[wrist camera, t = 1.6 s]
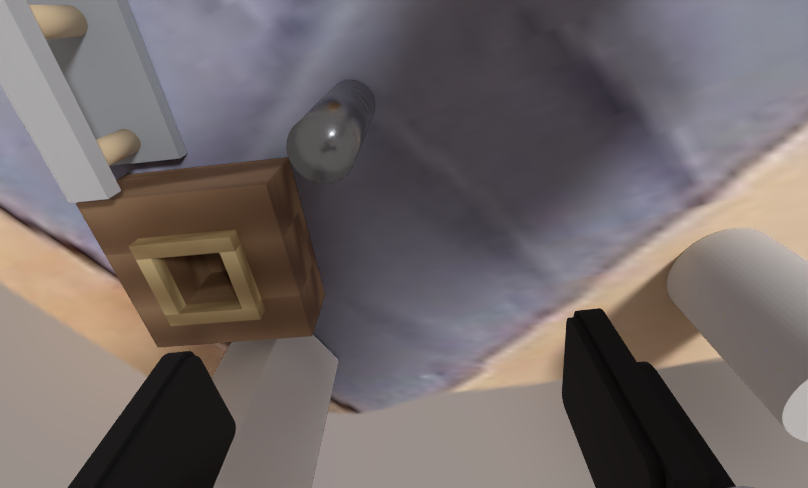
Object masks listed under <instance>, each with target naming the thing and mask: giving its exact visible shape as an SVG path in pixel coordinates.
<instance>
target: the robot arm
mask: <svg viewBox="0 0 808 488" xmlns="http://www.w3.org/2000/svg"><path fill="white" fill-rule="evenodd" d="M562 399H563V404H564V407H565V410H566V413H567V415H568V418H569V420H570V423H571V425H572V428H573V430H574V433H575V436H576V438H577V441H578V443H579V446H580V448H581V451H582V454H583V456H584V459H585V461H586V464H587V466H588V469H589V471H590V474H591V477H592V479H593V482H594V484H595V487H596V488H753V487H745V486H737V487H736V486H735V484H734V483H733V481H732V480H731V478H730V477H729V475H728V474H727V472H726V471H725V470H724V468H723V467H722V465H721V464H720V462H719V461H718V459H717V458H716V456H715V455H714V454H713V452H712V451H711V449H710V448H709V446H708V445H707V443H706V442H705V440H704V439H703V438H702V436H701V435H700V433H699V432H698V430H697V429H696V427H695V426H694V425H693V423H692V422H691V420H690V419H689V417H688V416H687V414H686V413H685V411H684V410H683V409H682V407H681V406H680V404H679V403H678V401H677V400H676V398H675V397H674V395H673V394H672V393H671V391H670V390H669V388H668V387H667V385H666V384H665V382H664V381H663V379H662V378H661V376H660V375H659V374H658V372H657V371H656V370H655V368H654V367H653V366H652V365H651V364H649V363H648V362H636V360H635V359H634V357H633V356H632V354H631V353H630V351H629V349H628V348H627V346H626V345H625V343H624V342H623V340H622V339H621V337H620V336H619V334H618V332H617V331H616V329H615V328H614V326H613V325H612V323H611V322H610V320H609V319H608V317H607V315H606V314H605V312H604V311H603V310H602V309H600V308H599V309H589V310H580V311H575V313H574V317H572V318H568V319H567V322H566V337H565V353H564V368H563V384H562ZM235 432H236V423H235V421H234V419H233V417H232V415H231V413H230V411H229V410H228V408H227V406H226V404H225V402H224V400H223V399H222V397H221V395H220V393H219V391H218V389H217V388H216V386H215V384H214V382H213V380H212V378H211V377H210V375H209V373H208V371H207V369H206V367H205V366H204V364H203V362H202V360H201V359H200V357H198V356H195V355H194V353H192V352H191V351H186V352H176V353H168V354H166V355H164V356H163V357H162V358H161V359H160V361H159V362H158V364H157V365H156V366H155V368H154V369H153V370H152V372H151V373H150V375H149V376H148V377H147V379H146V380H145V382H144V383H143V384H142V386H141V387H140V389H139V390H138V391H137V393H136V394H135V395H134V397H133V398H132V400H131V401H130V402H129V404H128V405H127V406H126V408H125V409H124V411H123V412H122V414H121V415H120V416H119V418H118V419H117V420H116V422H115V423H114V424H113V426H112V427H111V429H110V430H109V431H108V433H107V434H106V435H105V437H104V438H103V440H102V441H101V443H100V444H99V445H98V447H97V448H96V449H95V451H94V452H93V453H92V455H91V456H90V458H89V459H88V460H87V462H86V463H85V465H84V466H83V467H82V469H81V470H80V471H79V473H78V474H77V476H76V477H75V478H74V480H73V481H72V482H71V484H70V485H69V487H68V488H213V487H214V484H215V482H216V480H217V477H218V475H219V472H220V470H221V468H222V465H223V463H224V460H225V458H226V456H227V453H228V451H229V448H230V446H231V444H232V441H233V439H234V436H235Z"/></svg>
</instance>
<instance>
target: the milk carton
mask: <svg viewBox="0 0 808 488" xmlns="http://www.w3.org/2000/svg"><path fill="white" fill-rule="evenodd" d="M337 366H338V359H337V358H336V357H335V356H334V355H333V354H332V353H331V352H330V351H329V350H328V349H327V348H326V347H325V346H324V345H323V344H322V343H321V342H320V341H319V340H318V339H317V338H316V337H315V336H314V335H312V336H308V337H295V338H281V339H267V340H253V341H239V342H232V343H231V344H230V346H229V347H228V349H227V351H226V353H225V355H224V356H223V358H222V360H221V362H220V364H219V366H218V367H217V369H216V371H215V373H214V375H213V377H212V380H213V382H214V384H215V386H216V388H217V389H218V391H219V393H220V395H221V397H222V399H223V400H224V402H225V404H226V406H227V408H228V410H229V411H230V413H231V415H232V417H233V419H234V421H235V423H236V432H235V436H234V439H233V441H232V444H231V446H230V448H229V451H228V453H227V456H226V458H225V460H224V463H223V465H222V468H221V470H220V472H219V475H218V477H217V480H216V482H215V484H214V487H213V488H312V483H313V479H314V473H315V469H316V465H317V459H318V455H319V450H320V445H321V441H322V436H323V431H324V427H325V422H326V418H327V413H328V408H329V404H330V399H331V394H332V390H333V385H334V380H335V376H336V371H337Z"/></svg>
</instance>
